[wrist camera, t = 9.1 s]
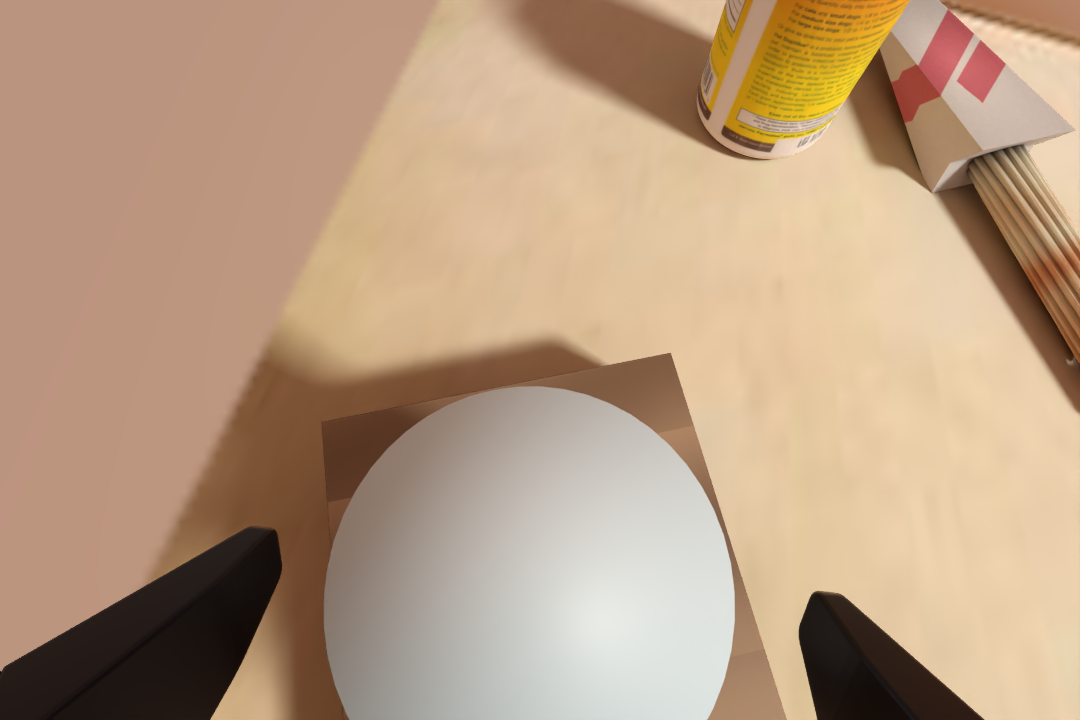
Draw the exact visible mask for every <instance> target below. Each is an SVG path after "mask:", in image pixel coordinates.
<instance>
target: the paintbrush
mask: <svg viewBox="0 0 1080 720" xmlns="http://www.w3.org/2000/svg"><path fill="white" fill-rule="evenodd" d="M879 49H880V51H881V54H882V57H883V60H884V63H885V66H886V69H887V72H888V75H889V78H890V81H891V84H892V87H893V90H894V93H895V96H896V99H897V102H898V105H899V108H900V111H901V114H902V117H903V120H904V123H905V126H906V129H907V132H908V135H909V138H910V141H911V144H912V146H913V149H914V152H915V155H916V158H917V161H918V164H919V167H920V170H921V173H922V176H923V178H924V180H925V182H926V184H927V185H928V187H929V189H930V191H931V193H934V192H938V191H942V190H947V189H951V188H955V187H960V186H964V185H968V184H974V186H975V188H976V190H977V192H978V194H979V195H980V197H981V199H982V200H983V202H984V204H985V206H986V207H987V209H988V211H989V212H990V214H991V216H992V217H993V219H994V221H995V223H996V224H997V226H998V228H999V229H1000V231H1001V233H1002V234H1003V236H1004V238H1005V239H1006V241H1007V243H1008V245H1009V246H1010V248H1011V250H1012V251H1013V253H1014V255H1015V256H1016V258H1017V260H1018V261H1019V263H1020V265H1021V266H1022V268H1023V270H1024V271H1025V273H1026V275H1027V276H1028V278H1029V280H1030V282H1031V283H1032V285H1033V287H1034V288H1035V290H1036V292H1037V293H1038V295H1039V297H1040V298H1041V300H1042V302H1043V303H1044V305H1045V307H1046V308H1047V310H1048V312H1049V313H1050V315H1051V317H1052V318H1053V320H1054V322H1055V323H1056V325H1057V327H1058V329H1059V330H1060V332H1061V334H1062V336H1063V337H1064V339H1065V341H1066V343H1067V344H1068V346H1069V348H1070V350H1071V351H1072V353H1073V355H1074V357H1075V358H1076V360H1077V361H1078V362H1079V364H1080V234H1079V232H1078V231H1077V229H1076V228H1075V226H1074V224H1073V223H1072V221H1071V220H1070V218H1069V216H1068V215H1067V213H1066V212H1065V210H1064V208H1063V207H1062V205H1061V204H1060V202H1059V200H1058V199H1057V197H1056V196H1055V194H1054V192H1053V191H1052V189H1051V188H1050V186H1049V184H1048V183H1047V181H1046V180H1045V178H1044V176H1043V175H1042V173H1041V172H1040V170H1039V168H1038V167H1037V165H1036V164H1035V162H1034V161H1033V159H1032V157H1031V156H1030V154H1029V151H1030V150H1031V148H1032V147H1033V145H1036V144H1039V143H1041V142H1044V141H1047V140H1050V139H1053V138H1056V137H1058V136H1061V135H1064V134H1067V133H1070V132H1072V131H1075V129H1074V128H1073V127H1072V126H1071V125H1070V124H1069V123H1068V122H1067V121H1066V120H1064V119H1063V118H1062V117H1061V116H1060V115H1059V114H1058V113H1057V112H1056V111H1055V110H1054V109H1053V108H1052V107H1051V106H1050V105H1049V104H1048V103H1047V102H1045V101H1044V100H1043V99H1042V98H1041V97H1040V96H1039V95H1038V94H1037V93H1036V92H1035V91H1034V90H1033V89H1032V88H1031V87H1030V86H1029V85H1027V84H1026V83H1025V82H1024V81H1023V80H1022V79H1021V78H1020V77H1019V76H1018V75H1017V74H1016V73H1015V72H1014V71H1013V70H1012V69H1011V68H1010V67H1008V66H1007V65H1006V64H1005V63H1004V62H1003V61H1002V60H1001V59H1000V58H999V57H998V56H997V55H996V54H995V53H994V52H993V51H992V50H991V49H989V48H988V47H987V46H986V45H985V44H984V43H983V42H982V41H981V40H980V39H979V38H978V37H977V36H976V35H975V34H974V33H973V32H971V31H970V30H969V29H968V28H967V27H966V26H965V25H964V24H963V23H962V22H961V21H960V20H959V19H958V18H957V17H956V16H955V15H954V14H952V13H951V12H950V11H949V10H948V9H947V8H946V7H945V6H944V5H943V4H942V3H941V2H940V1H939V0H910V1H909V3H908V4H907V6H906V8H905V9H904V11H903V12H902V14H901V15H900V17H899V19H898V20H897V22H896V23H895V25H894V26H893V28H892V29H891V31H890V32H889V34H888V36H887V37H886V39H885V40H884V42H883V43H882V45H881V46H880V48H879Z"/></svg>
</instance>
